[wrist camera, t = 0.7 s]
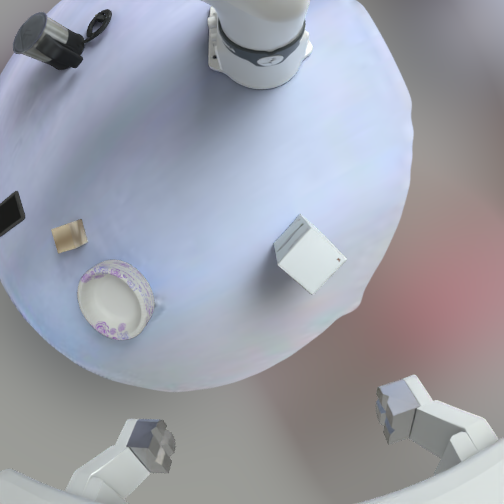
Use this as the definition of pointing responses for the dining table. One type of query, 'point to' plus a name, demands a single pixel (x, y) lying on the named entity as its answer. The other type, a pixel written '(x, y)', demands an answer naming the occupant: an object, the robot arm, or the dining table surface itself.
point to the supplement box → (307, 255)
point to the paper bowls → (115, 299)
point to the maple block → (69, 236)
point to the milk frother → (55, 40)
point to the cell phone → (11, 213)
